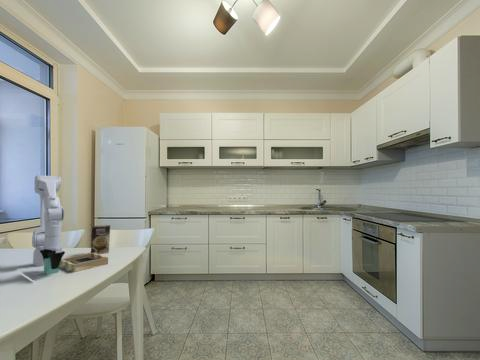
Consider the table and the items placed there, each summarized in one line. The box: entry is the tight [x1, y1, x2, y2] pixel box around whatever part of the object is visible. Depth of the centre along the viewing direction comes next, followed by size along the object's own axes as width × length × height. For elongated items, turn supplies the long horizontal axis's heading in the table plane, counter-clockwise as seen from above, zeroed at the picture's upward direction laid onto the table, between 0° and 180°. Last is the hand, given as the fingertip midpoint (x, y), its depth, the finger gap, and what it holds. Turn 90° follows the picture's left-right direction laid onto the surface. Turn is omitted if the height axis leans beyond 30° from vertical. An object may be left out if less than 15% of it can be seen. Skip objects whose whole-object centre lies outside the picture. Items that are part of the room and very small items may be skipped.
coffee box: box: [90, 224, 111, 255], centre depth 137 cm, size 9×6×16 cm
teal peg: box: [43, 258, 60, 276], centre depth 103 cm, size 4×4×7 cm
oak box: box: [59, 252, 109, 274], centre depth 113 cm, size 15×15×4 cm
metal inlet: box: [70, 256, 97, 264], centre depth 113 cm, size 8×8×2 cm
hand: (51, 267), depth 103 cm, fingers open, 7 cm apart
